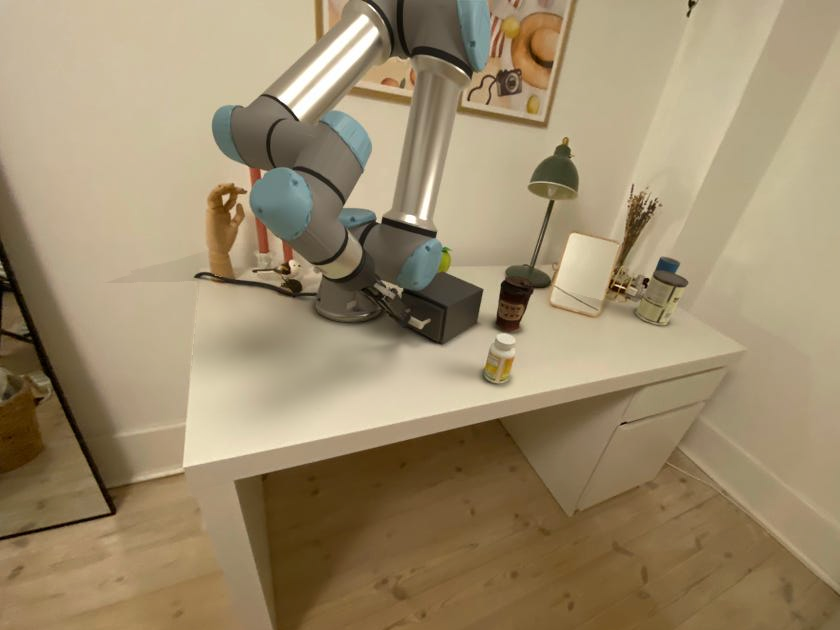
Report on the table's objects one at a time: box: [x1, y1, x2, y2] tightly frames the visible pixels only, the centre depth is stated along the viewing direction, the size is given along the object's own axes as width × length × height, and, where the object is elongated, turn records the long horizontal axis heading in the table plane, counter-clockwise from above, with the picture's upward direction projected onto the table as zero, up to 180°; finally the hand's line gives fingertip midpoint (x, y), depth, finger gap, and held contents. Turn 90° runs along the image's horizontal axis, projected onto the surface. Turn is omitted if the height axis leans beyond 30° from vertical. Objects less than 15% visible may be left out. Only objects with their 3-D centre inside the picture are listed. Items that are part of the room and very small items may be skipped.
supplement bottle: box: [483, 332, 516, 384], centre depth 77 cm, size 5×5×10 cm
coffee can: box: [635, 270, 689, 326], centre depth 117 cm, size 10×10×14 cm
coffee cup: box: [495, 275, 535, 332], centre depth 95 cm, size 9×8×13 cm
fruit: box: [436, 246, 453, 273], centre depth 115 cm, size 9×9×10 cm
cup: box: [654, 256, 681, 274], centre depth 130 cm, size 7×7×15 cm
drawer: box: [400, 290, 445, 343], centre depth 89 cm, size 18×12×8 cm, turn 147°
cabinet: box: [402, 271, 484, 345], centre depth 91 cm, size 15×13×10 cm
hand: (405, 321), depth 81 cm, fingers closed
